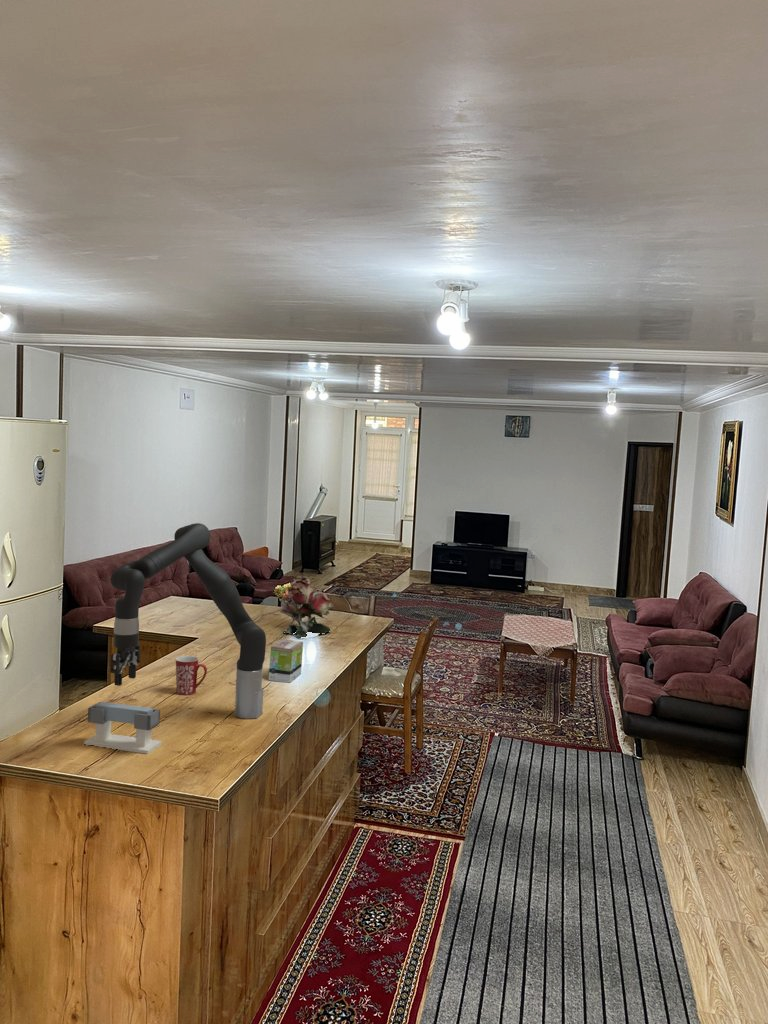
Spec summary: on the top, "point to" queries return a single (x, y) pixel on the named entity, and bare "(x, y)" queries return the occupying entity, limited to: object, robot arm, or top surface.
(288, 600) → the rose bouquet
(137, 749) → the stand
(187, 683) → the mug
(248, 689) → the robot arm
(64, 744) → the top surface
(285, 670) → the tea box
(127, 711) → the rail
